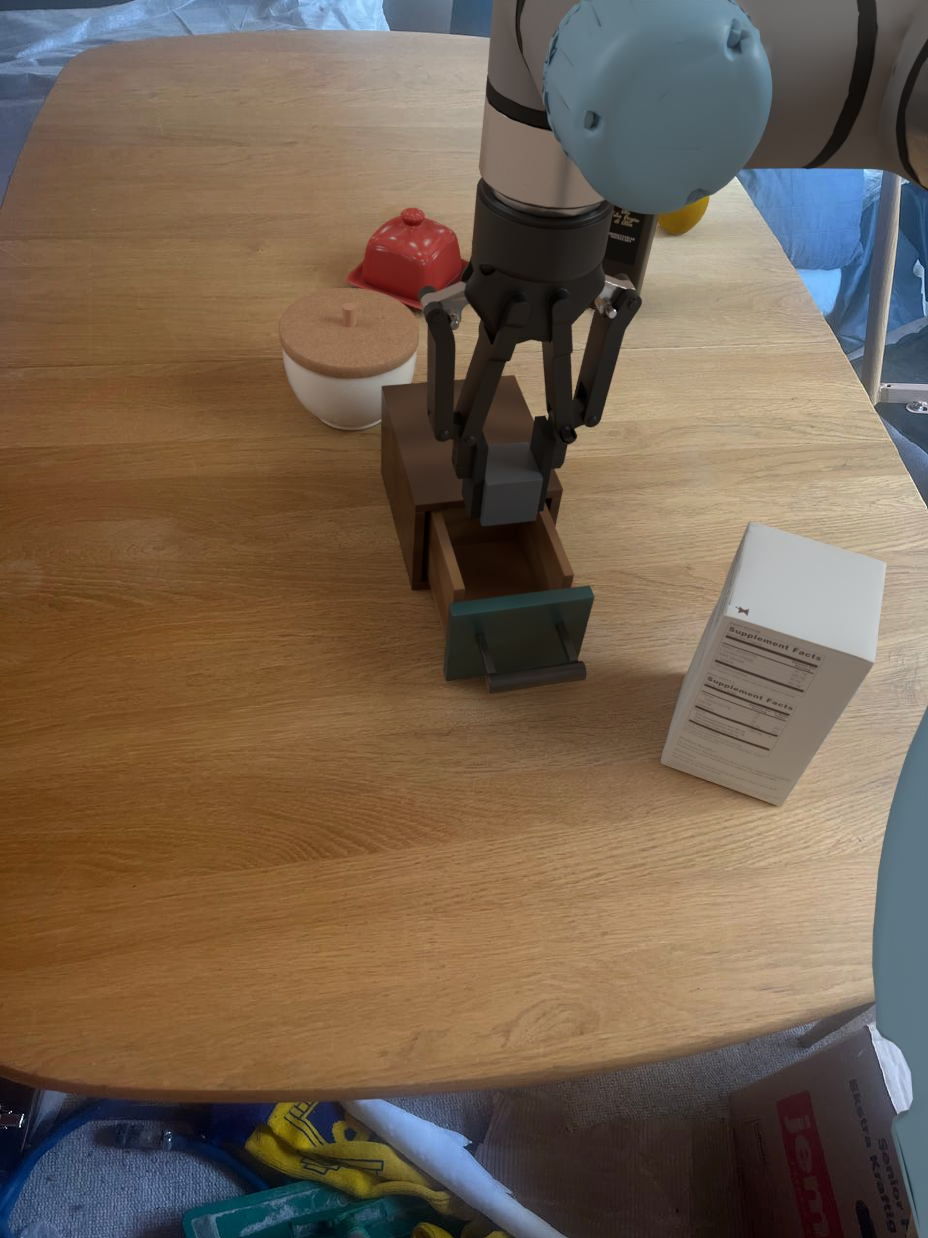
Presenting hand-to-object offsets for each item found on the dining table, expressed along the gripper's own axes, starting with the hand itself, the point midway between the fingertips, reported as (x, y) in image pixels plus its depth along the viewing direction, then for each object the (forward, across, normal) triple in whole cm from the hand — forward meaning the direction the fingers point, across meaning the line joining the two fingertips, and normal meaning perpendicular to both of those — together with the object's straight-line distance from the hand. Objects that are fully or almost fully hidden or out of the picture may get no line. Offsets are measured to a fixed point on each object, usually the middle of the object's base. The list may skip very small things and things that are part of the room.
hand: (502, 501), depth 69 cm
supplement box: (+12, -15, +16) cm, 25 cm away
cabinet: (+12, 0, -10) cm, 15 cm away
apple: (+12, -38, -56) cm, 69 cm away
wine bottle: (+12, -25, -42) cm, 50 cm away
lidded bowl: (+12, +7, -27) cm, 30 cm away
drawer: (+11, 0, +3) cm, 11 cm away
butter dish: (+12, -3, -48) cm, 50 cm away
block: (0, 0, 0) cm, 0 cm away
